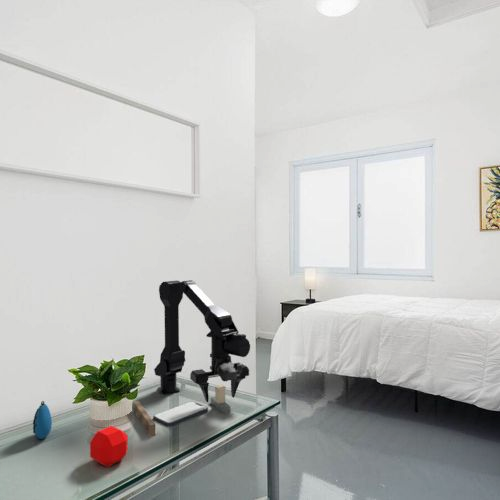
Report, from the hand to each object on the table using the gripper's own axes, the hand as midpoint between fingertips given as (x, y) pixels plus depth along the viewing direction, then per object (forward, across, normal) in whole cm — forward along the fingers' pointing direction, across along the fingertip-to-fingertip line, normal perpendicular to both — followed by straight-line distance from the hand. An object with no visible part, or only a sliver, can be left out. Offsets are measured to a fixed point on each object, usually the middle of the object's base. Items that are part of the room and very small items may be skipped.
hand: (220, 399), depth 142 cm
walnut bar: (+2, -25, 0) cm, 25 cm away
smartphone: (+3, -13, 0) cm, 14 cm away
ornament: (+3, -52, +3) cm, 52 cm away
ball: (+3, -38, -19) cm, 43 cm away
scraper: (+3, 0, 0) cm, 3 cm away
